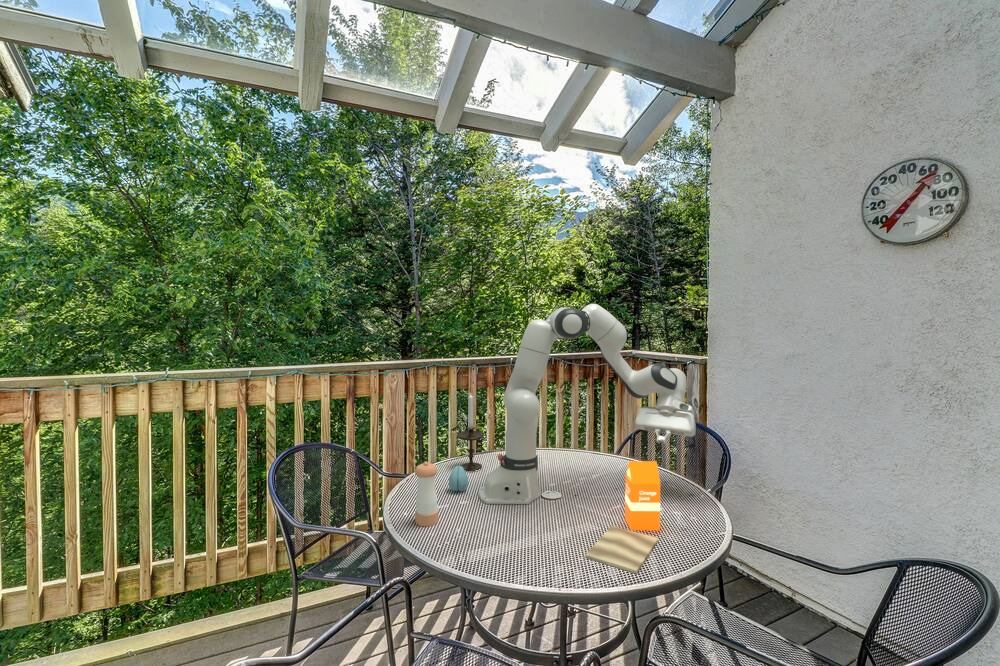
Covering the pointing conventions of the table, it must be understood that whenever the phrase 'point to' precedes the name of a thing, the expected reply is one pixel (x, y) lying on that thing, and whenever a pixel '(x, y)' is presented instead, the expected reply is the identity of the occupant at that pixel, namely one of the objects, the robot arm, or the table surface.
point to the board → (622, 549)
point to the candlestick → (471, 437)
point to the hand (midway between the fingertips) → (660, 442)
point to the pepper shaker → (426, 495)
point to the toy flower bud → (458, 479)
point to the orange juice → (642, 495)
